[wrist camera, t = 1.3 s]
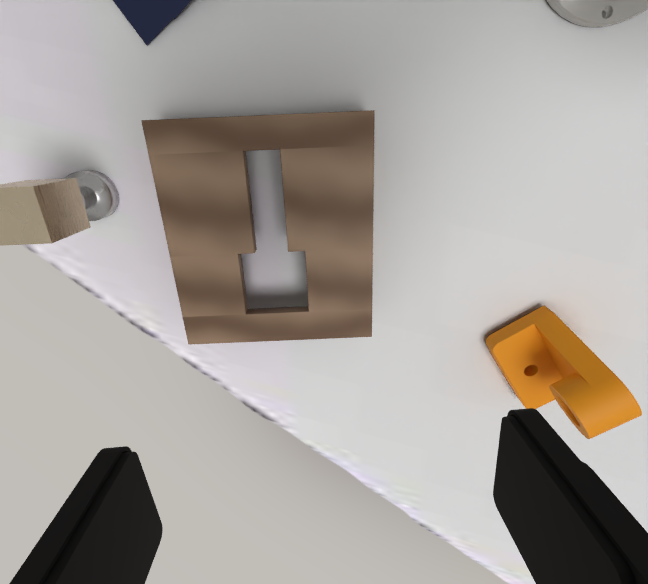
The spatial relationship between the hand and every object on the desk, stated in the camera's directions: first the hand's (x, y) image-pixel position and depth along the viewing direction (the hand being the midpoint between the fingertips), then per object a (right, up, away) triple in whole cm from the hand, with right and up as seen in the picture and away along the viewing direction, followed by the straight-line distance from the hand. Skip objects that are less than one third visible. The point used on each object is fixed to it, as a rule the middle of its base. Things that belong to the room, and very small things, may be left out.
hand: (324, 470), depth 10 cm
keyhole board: (-5, +11, +28) cm, 30 cm away
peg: (-22, +14, +26) cm, 37 cm away
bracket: (+24, -2, +34) cm, 42 cm away
